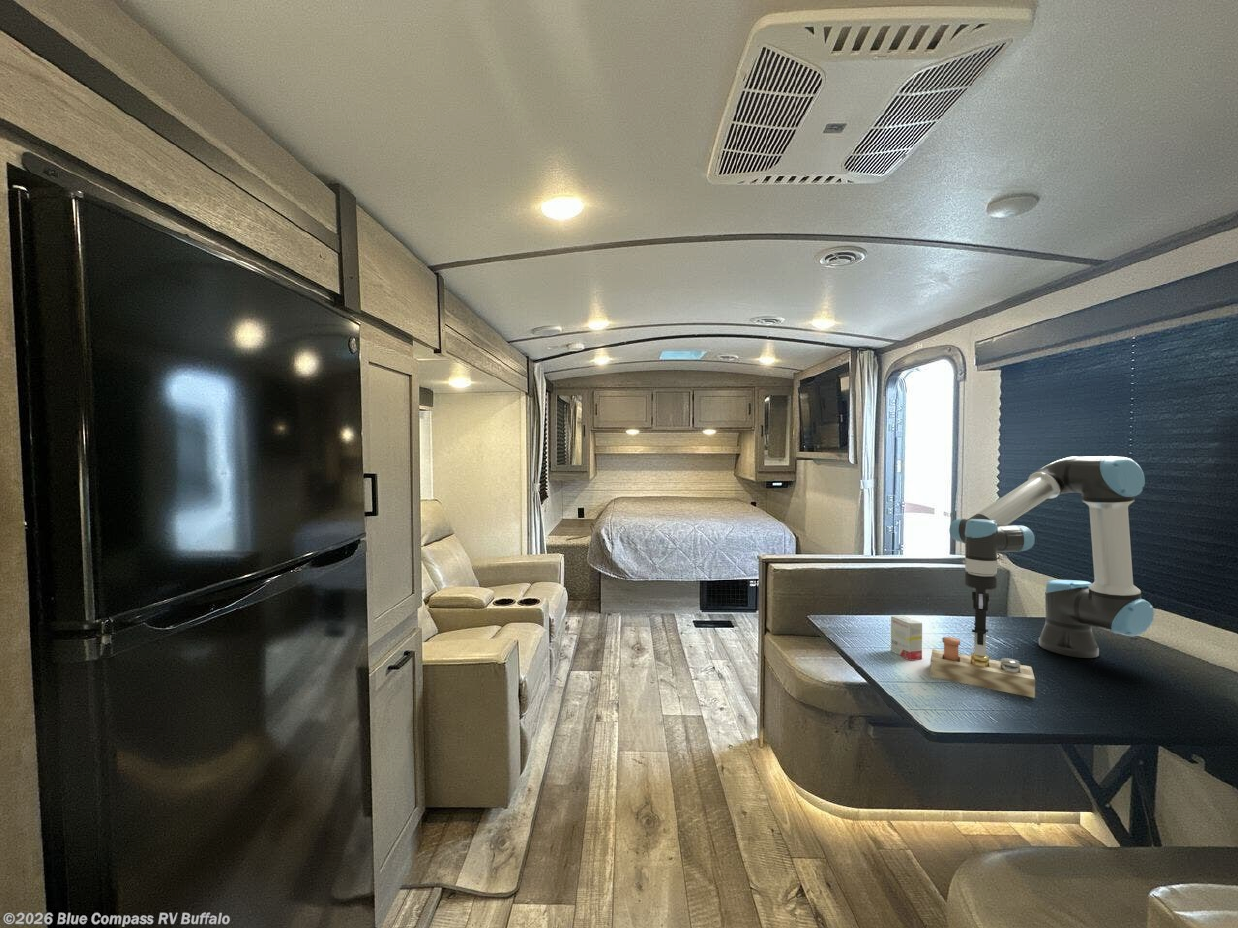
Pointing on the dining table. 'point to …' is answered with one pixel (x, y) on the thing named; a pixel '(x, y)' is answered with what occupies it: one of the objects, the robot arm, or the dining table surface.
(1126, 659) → the dining table surface
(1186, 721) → the dining table surface
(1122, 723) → the dining table surface
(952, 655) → the plunger terracotta
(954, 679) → the plunger block
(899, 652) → the ink box
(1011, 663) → the plunger grey
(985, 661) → the plunger brass
